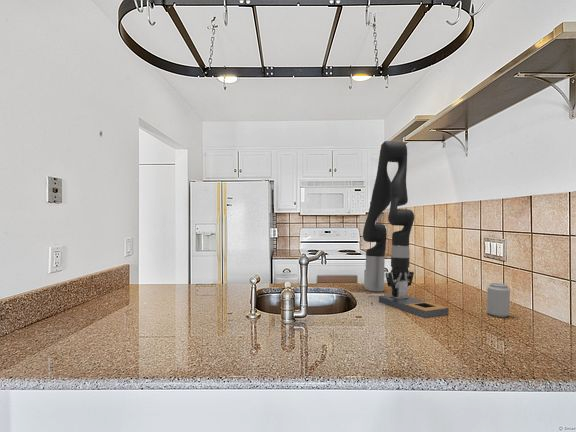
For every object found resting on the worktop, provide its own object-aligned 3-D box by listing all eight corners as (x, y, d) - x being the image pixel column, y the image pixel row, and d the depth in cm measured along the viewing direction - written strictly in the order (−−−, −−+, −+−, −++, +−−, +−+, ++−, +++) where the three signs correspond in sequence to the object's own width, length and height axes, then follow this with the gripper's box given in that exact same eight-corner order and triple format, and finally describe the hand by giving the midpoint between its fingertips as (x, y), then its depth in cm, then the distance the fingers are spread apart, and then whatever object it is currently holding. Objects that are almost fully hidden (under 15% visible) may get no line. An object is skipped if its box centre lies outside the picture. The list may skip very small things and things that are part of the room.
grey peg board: (378, 301, 157) (378, 295, 157) (400, 299, 162) (400, 293, 162) (425, 317, 133) (425, 310, 133) (448, 314, 138) (448, 307, 138)
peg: (391, 303, 155) (392, 279, 155) (399, 302, 157) (400, 279, 157) (398, 305, 151) (399, 281, 151) (407, 304, 153) (407, 281, 153)
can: (482, 313, 141) (483, 282, 141) (495, 311, 144) (495, 281, 144) (500, 318, 134) (501, 286, 134) (513, 316, 137) (514, 285, 137)
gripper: (406, 254, 160) (405, 293, 160) (381, 255, 154) (380, 295, 154) (419, 256, 153) (418, 296, 153) (393, 257, 147) (392, 299, 147)
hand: (399, 296), depth 154 cm, fingers closed on peg, 4 cm apart
